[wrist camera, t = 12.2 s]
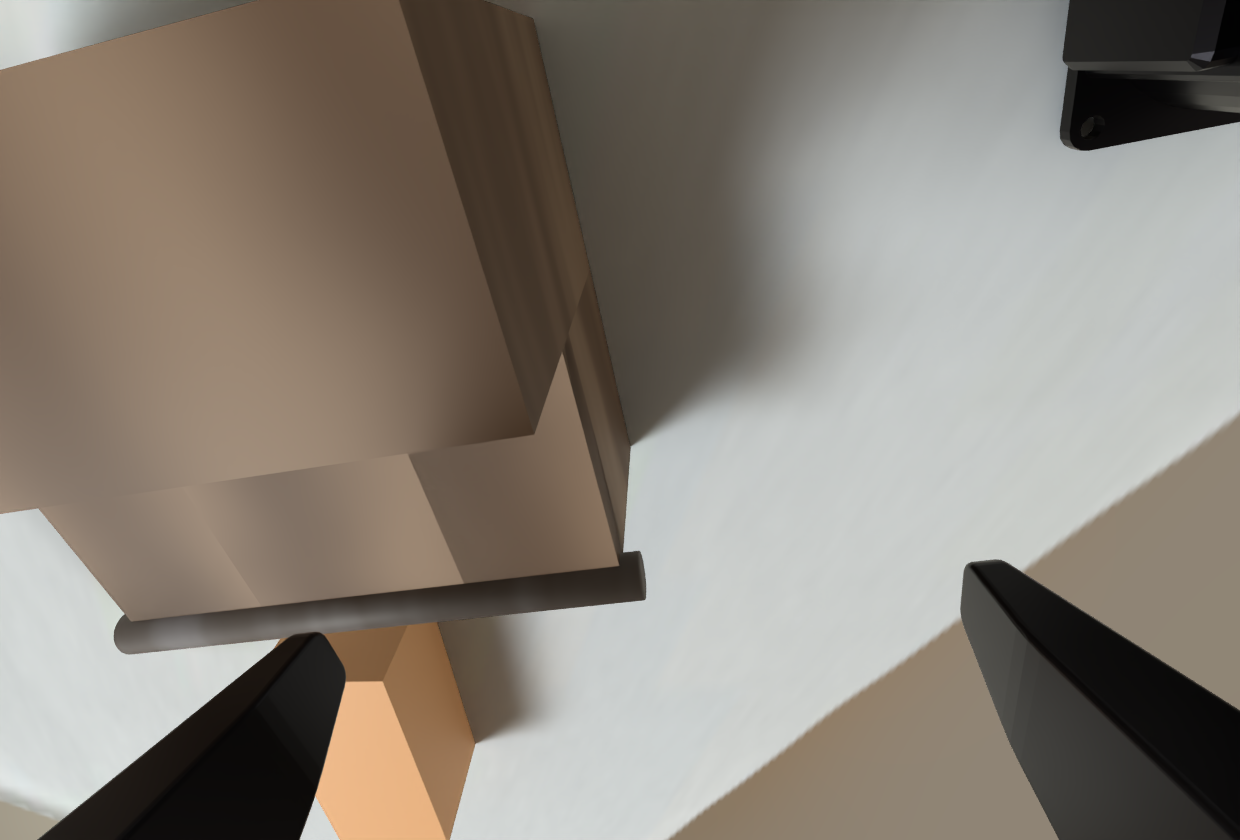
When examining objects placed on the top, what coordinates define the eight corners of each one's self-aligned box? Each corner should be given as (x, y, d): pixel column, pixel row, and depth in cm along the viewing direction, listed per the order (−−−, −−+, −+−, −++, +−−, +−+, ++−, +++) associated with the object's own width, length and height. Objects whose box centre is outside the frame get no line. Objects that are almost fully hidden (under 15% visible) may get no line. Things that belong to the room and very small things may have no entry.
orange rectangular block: (427, 581, 24) (382, 681, 20) (476, 740, 29) (448, 844, 25) (316, 584, 24) (251, 682, 21) (383, 739, 29) (341, 842, 25)
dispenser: (551, 14, 14) (427, -45, 7) (648, 468, 21) (643, 714, 13) (23, 145, 17) (-543, 217, 9) (255, 521, 23) (44, 761, 15)
